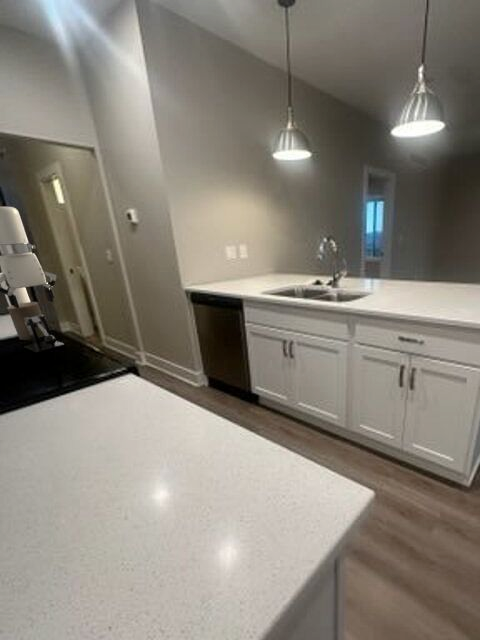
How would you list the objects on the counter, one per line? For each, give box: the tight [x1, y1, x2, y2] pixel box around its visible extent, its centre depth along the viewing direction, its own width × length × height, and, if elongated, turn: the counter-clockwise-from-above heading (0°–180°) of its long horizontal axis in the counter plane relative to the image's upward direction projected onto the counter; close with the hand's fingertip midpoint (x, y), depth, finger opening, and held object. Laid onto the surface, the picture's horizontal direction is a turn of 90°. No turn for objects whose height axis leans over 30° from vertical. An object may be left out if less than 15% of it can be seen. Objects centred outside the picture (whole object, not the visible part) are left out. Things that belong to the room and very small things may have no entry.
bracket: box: [24, 314, 65, 353], centre depth 122 cm, size 12×9×12 cm
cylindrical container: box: [0, 272, 31, 307], centre depth 140 cm, size 7×7×25 cm
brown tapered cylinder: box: [6, 301, 45, 341], centre depth 134 cm, size 10×10×15 cm
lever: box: [30, 316, 57, 345], centre depth 119 cm, size 13×3×3 cm
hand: (34, 304), depth 113 cm, fingers open, 9 cm apart
